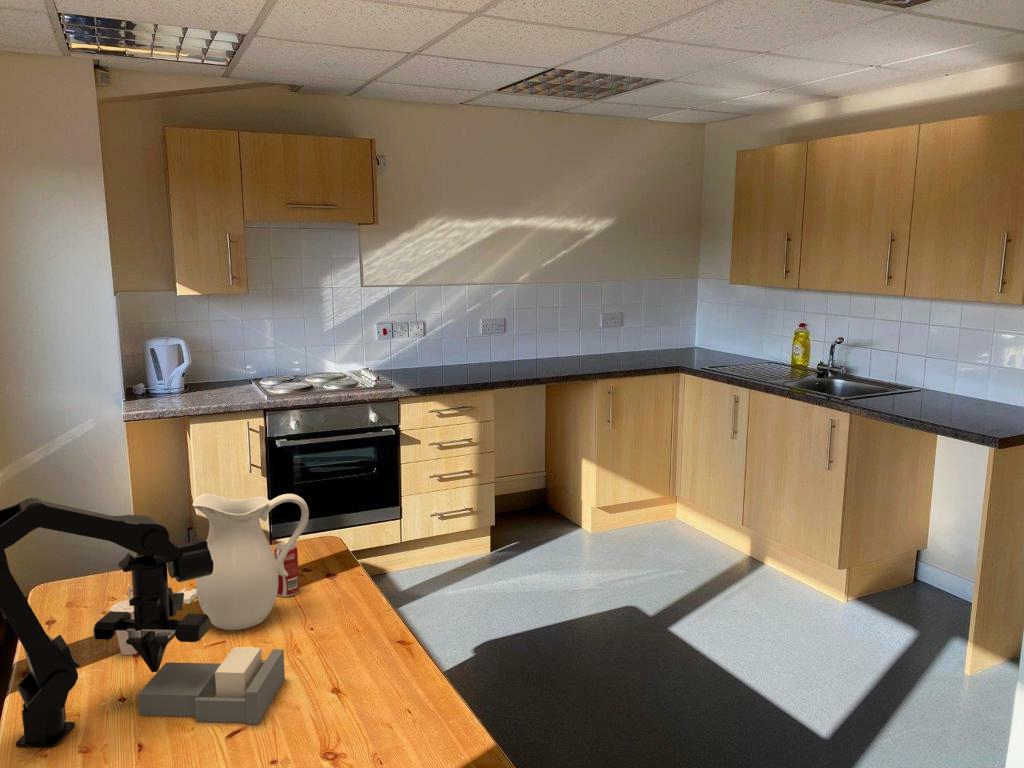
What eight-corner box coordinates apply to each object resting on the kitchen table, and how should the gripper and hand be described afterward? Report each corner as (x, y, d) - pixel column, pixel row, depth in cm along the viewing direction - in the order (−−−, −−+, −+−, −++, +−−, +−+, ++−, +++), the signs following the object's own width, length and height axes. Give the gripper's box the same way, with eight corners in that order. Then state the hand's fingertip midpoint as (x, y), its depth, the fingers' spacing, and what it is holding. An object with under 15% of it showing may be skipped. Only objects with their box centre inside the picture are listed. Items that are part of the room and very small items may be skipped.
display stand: (258, 724, 139) (256, 692, 138) (133, 722, 139) (131, 689, 138) (284, 679, 154) (283, 649, 153) (172, 676, 154) (170, 647, 153)
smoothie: (135, 660, 160) (130, 593, 158) (106, 657, 161) (101, 590, 159) (155, 645, 166) (150, 580, 164) (127, 642, 168) (122, 577, 165)
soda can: (274, 590, 193) (272, 542, 191) (296, 587, 195) (295, 539, 193) (278, 599, 188) (276, 549, 187) (300, 595, 191) (299, 546, 189)
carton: (217, 714, 142) (245, 715, 142) (215, 672, 141) (243, 672, 141) (236, 687, 151) (262, 688, 151) (233, 647, 150) (261, 647, 149)
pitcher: (194, 641, 168) (186, 512, 163) (202, 607, 184) (195, 488, 179) (313, 628, 174) (309, 503, 170) (311, 596, 190) (307, 481, 186)
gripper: (220, 572, 151) (224, 651, 153) (121, 569, 152) (126, 648, 154) (195, 597, 140) (199, 681, 142) (88, 594, 141) (94, 678, 143)
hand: (155, 671), depth 146 cm, fingers closed
